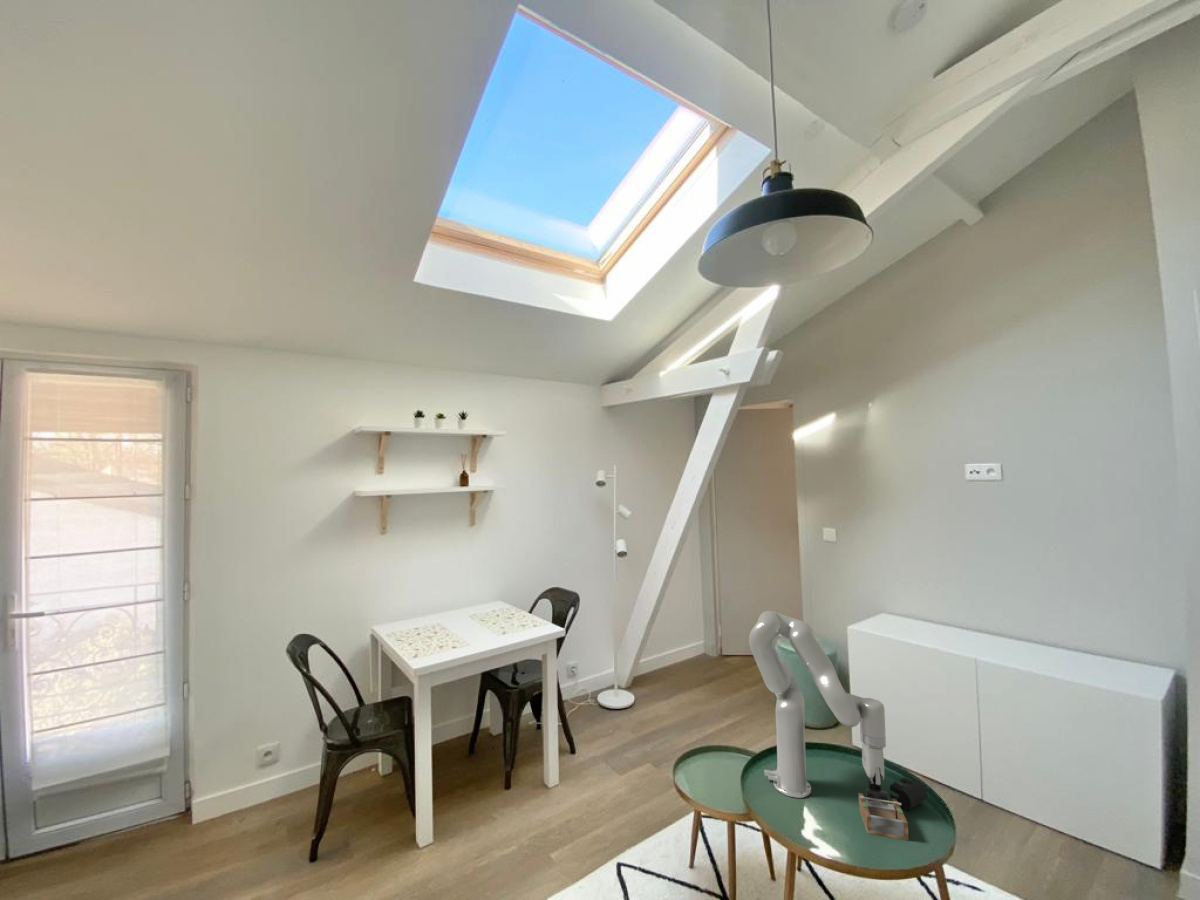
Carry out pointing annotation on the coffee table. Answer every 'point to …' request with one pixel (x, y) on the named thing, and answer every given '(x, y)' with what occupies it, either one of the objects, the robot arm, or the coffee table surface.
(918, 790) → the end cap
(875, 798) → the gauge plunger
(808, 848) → the coffee table surface
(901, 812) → the wood and grey box
